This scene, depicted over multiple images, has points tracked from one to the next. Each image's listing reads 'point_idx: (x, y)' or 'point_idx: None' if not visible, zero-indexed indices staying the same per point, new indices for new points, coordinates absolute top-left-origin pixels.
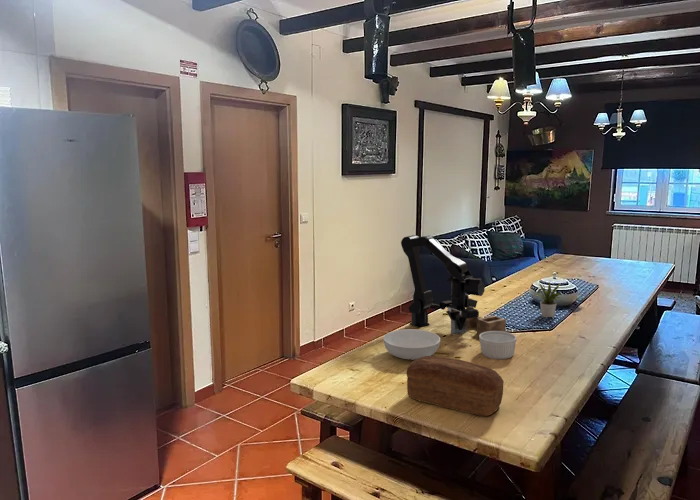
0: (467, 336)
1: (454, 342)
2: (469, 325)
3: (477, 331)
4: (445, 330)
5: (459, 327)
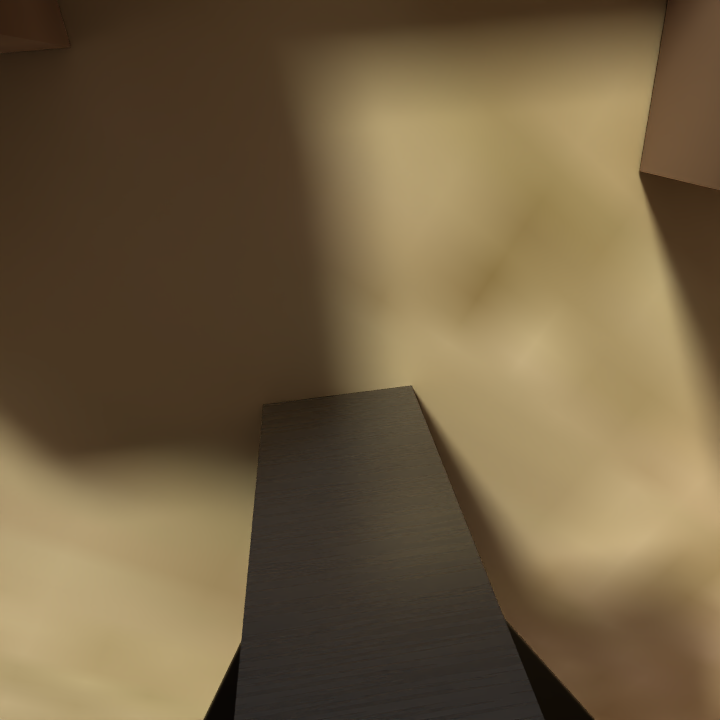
0: (643, 489)
1: (682, 717)
2: (24, 38)
3: (694, 177)
4: (110, 659)
5: None
